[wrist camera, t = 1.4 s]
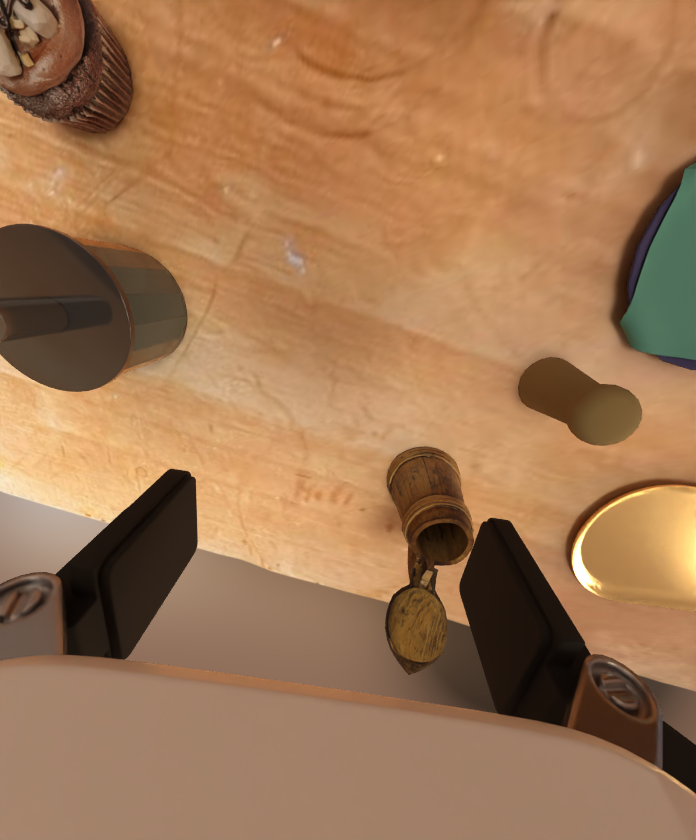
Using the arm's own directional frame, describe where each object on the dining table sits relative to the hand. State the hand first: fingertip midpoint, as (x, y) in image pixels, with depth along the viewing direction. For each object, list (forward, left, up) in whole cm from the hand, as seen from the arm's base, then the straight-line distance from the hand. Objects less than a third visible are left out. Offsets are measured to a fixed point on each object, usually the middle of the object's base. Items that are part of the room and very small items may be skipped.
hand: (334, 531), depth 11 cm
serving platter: (+40, +32, -28) cm, 59 cm away
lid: (-14, -20, -18) cm, 30 cm away
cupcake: (-31, -12, -28) cm, 44 cm away
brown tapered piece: (+11, +18, -28) cm, 35 cm away
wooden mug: (+19, 0, -28) cm, 34 cm away
